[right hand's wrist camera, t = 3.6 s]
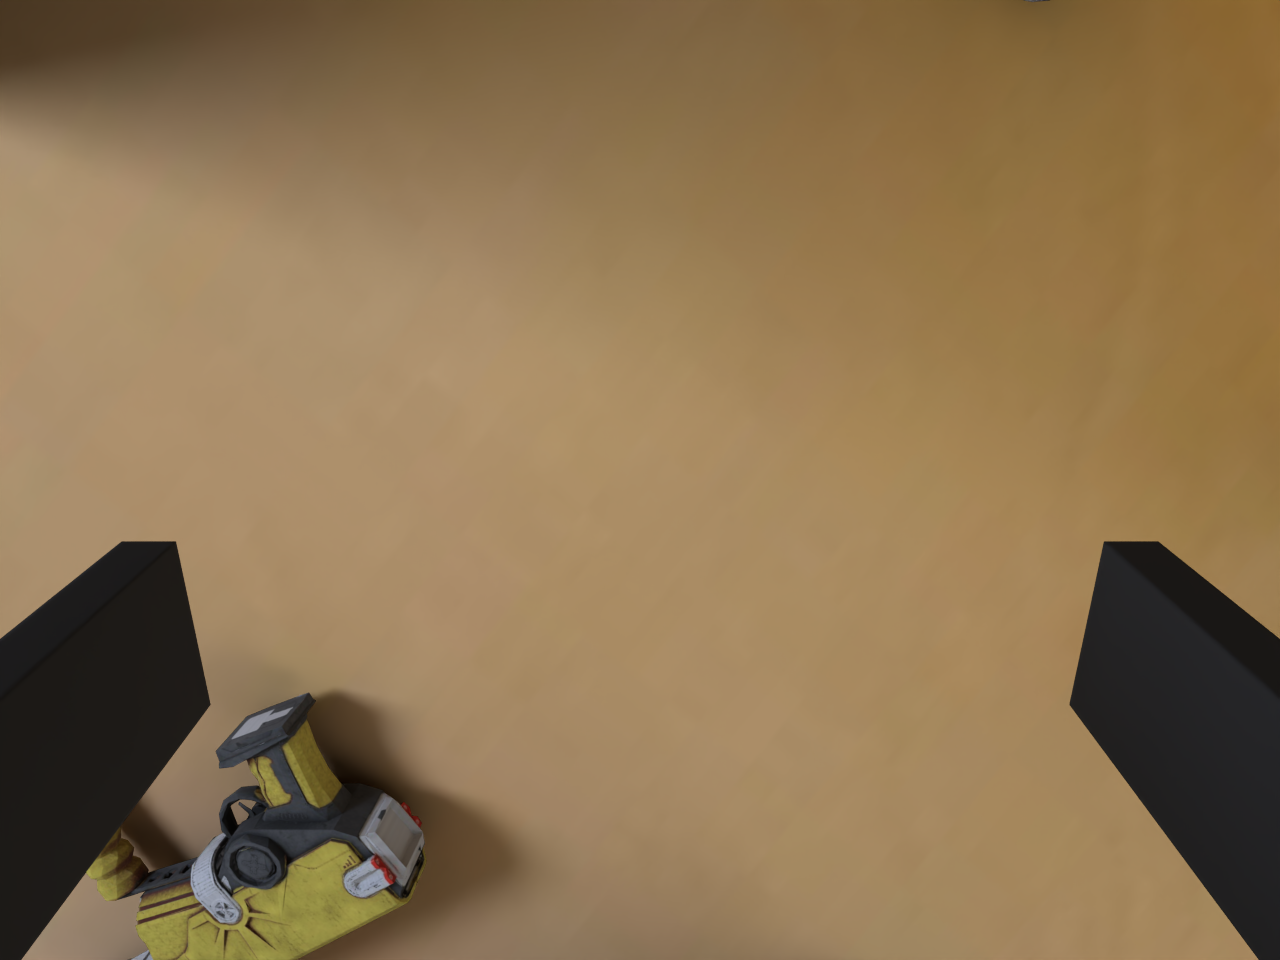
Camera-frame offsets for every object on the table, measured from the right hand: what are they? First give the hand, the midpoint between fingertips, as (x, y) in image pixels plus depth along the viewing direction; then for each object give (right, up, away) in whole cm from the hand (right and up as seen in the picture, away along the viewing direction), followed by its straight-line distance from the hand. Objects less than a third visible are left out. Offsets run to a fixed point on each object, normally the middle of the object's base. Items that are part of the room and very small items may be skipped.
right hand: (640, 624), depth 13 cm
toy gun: (-25, -18, +37) cm, 48 cm away
